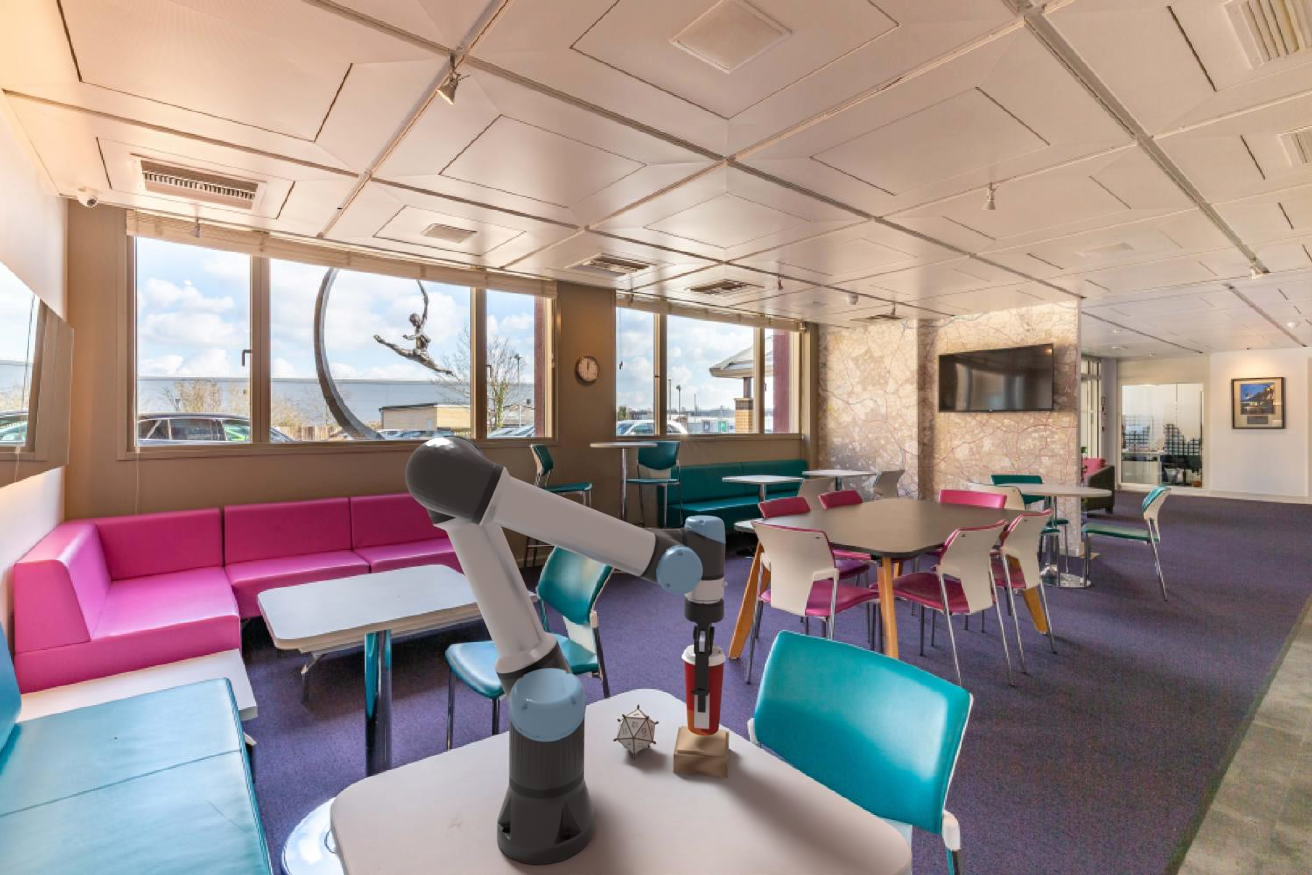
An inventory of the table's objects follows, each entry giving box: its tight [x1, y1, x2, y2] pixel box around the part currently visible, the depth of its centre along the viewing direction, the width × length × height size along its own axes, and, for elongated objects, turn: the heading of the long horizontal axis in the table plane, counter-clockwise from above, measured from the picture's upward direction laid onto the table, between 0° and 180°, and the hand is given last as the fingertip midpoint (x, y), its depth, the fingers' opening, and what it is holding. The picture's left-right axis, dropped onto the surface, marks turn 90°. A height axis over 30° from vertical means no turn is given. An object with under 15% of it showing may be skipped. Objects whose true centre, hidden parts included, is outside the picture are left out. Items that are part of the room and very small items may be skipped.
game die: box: [612, 703, 660, 760], centre depth 118 cm, size 9×8×10 cm
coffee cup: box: [681, 643, 727, 736], centre depth 115 cm, size 8×8×15 cm
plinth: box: [672, 725, 730, 778], centre depth 116 cm, size 10×10×4 cm
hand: (702, 716), depth 116 cm, fingers closed on coffee cup, 7 cm apart
